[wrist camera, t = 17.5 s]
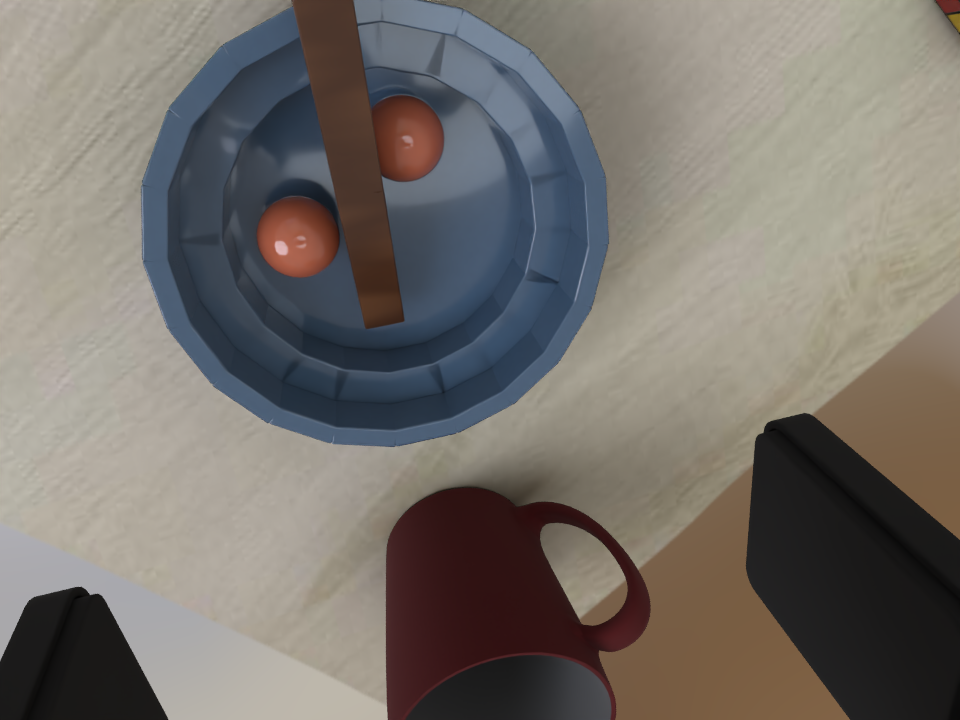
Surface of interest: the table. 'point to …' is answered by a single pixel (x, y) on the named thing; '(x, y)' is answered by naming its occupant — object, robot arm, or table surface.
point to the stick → (351, 151)
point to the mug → (495, 615)
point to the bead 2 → (407, 137)
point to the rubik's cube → (951, 11)
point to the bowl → (413, 224)
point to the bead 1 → (298, 236)
